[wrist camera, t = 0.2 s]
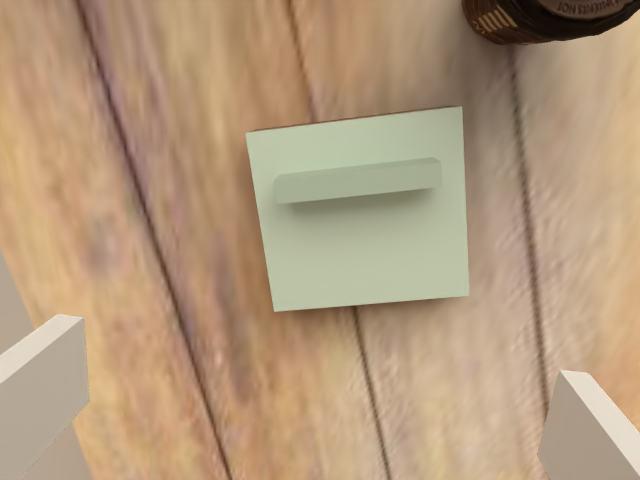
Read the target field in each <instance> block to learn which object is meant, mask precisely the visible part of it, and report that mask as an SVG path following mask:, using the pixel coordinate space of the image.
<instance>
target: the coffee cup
mask: <svg viewBox="0 0 640 480" xmlns="http://www.w3.org/2000/svg"><path fill="white" fill-rule="evenodd" d="M462 6H463V11H464V13H465V16H466V18H467V20H468V22H469V24H470V25H471V27H472V28H473V29H474V30H475V32H476V33H477V34H479V35H480V36H481V37H483V38H484V39H486V40H488V41H490V42H493V43H495V44H499V45H505V44H519V45H529V44H538V43H545V42H551V41H555V40H556V41H566V40H572V39H577V38H581V37H586V36H595V35H599V34H602V33H603V32H605V31H608V30H609V29H611V28H614V27H616V26H618V25H620V24H622V23H623V22H624V21H627V20H628V19H629V18H630V17H631V16H632V15H633V14H634V13H635V12H637V11H638V10H639V9H640V0H462Z"/></svg>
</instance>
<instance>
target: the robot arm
mask: <svg viewBox="0 0 640 480" xmlns="http://www.w3.org/2000/svg"><path fill="white" fill-rule="evenodd" d="M89 401H90V400H89V385H88V370H87V355H86V340H85V325H84V317H79V316H70V315H61V314H57V315H56V316H54V317H53V318H51V319H50V320H49V321H47V322H46V323H44V324H43V325H42V326H40V327H39V328H37V329H36V330H35V331H33V332H32V333H31V334H29V335H28V336H26V337H25V338H24V339H22V340H21V341H20V342H18V343H17V344H15V345H14V346H13V347H11V348H10V349H8V350H7V351H6V352H4V353H3V354H1V355H0V480H20V479H21V478H22V477H23V476H24V475H25V473H26V472H27V471H28V470H29V469H30V468H31V467H32V466H33V464H34V463H35V462H36V461H37V460H38V459H39V458H40V457H41V455H42V454H43V453H44V452H45V451H46V450H47V449H48V448H49V446H50V445H51V444H52V443H53V442H54V441H55V440H56V438H57V437H58V436H59V435H60V434H61V433H62V432H63V431H64V429H65V428H66V427H67V426H68V425H69V424H70V423H71V422H72V420H73V419H74V418H75V417H76V416H77V415H78V414H79V412H80V411H81V410H82V409H83V408H84V407H85V406H86V405H87V403H88V402H89ZM537 455H538V457H539V459H540V461H541V463H542V465H543V467H544V469H545V471H546V473H547V475H548V477H549V479H550V480H640V433H639V432H638V431H637V429H636V428H635V427H634V426H633V425H632V424H631V422H630V421H629V420H628V419H627V418H626V417H625V415H624V414H623V413H622V412H621V411H620V409H619V408H618V407H617V406H616V405H615V404H614V402H613V401H612V400H611V399H610V398H609V397H608V395H607V394H606V393H605V392H604V391H603V390H602V388H601V387H600V386H599V385H598V384H597V383H596V381H595V380H594V379H593V378H592V377H591V375H590V374H589V373H585V372H576V371H567V370H559V372H558V376H557V380H556V384H555V388H554V391H553V395H552V399H551V403H550V407H549V411H548V414H547V418H546V422H545V426H544V430H543V434H542V437H541V441H540V445H539V449H538V453H537Z"/></svg>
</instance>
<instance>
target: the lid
mask: <svg viewBox="0 0 640 480" xmlns="http://www.w3.org/2000/svg"><path fill="white" fill-rule="evenodd" d="M245 135H246V141H247V147H248V153H249V160H250V166H251V172H252V178H253V184H254V190H255V197H256V203H257V209H258V215H259V221H260V228H261V234H262V240H263V246H264V252H265V258H266V265H267V271H268V277H269V283H270V289H271V295H272V302H273V308H274V312H278V311H290V310H302V309H314V308H327V307H339V306H351V305H363V304H375V303H387V302H399V301H412V300H424V299H436V298H448V297H460V296H469V271H468V245H467V219H466V193H465V166H464V140H463V114H462V106H458V107H450V108H442V109H434V110H425V111H417V112H409V113H401V114H393V115H385V116H377V117H369V118H360V119H352V120H344V121H336V122H328V123H320V124H312V125H303V126H295V127H287V128H279V129H271V130H263V131H255V132H247V133H245Z"/></svg>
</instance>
